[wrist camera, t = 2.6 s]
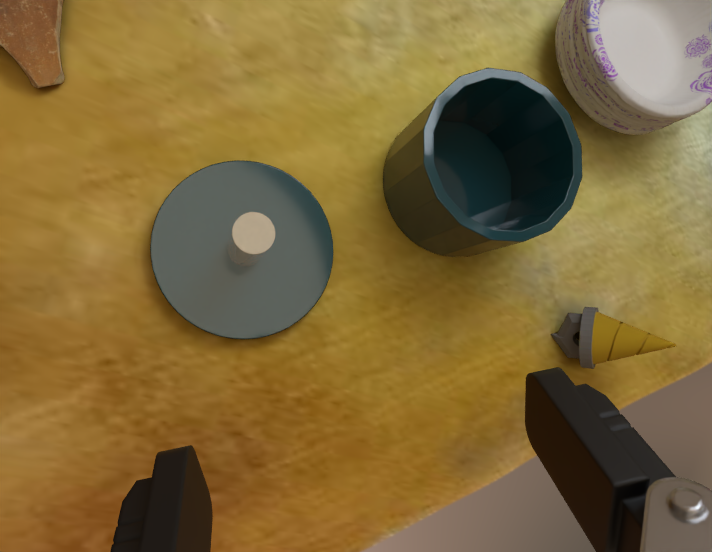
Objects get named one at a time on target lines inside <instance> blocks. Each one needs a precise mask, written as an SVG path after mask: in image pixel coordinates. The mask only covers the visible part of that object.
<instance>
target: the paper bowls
mask: <svg viewBox="0 0 712 552" xmlns="http://www.w3.org/2000/svg"><path fill="white" fill-rule="evenodd" d="M555 48H556V57H557V62H558V65H559V69H560V72H561V75H562V78H563V81H564V83H565V86H566V87H567V89H568V91H569V92H570V94H571V96H572V97H573V98H574V100H575V102H576V103H577V104H578V106H579V107H580V108H581V109H582V110H583V111H584V112H585V113H586V114H587V115H588V116H589V117H590V118H592V119H593V120H594V121H596V122H597V123H599V124H600V125H602V126H604V127H606V128H608V129H610V130H613V131H616V132H620V133H624V134H635V135H639V134H640V135H642V134H646V133H649V132H653V131H655V130H658V129H661V128H663V127H665V126H667V125H669V124H672V123H674V122H676V121H679V120H681V119H684V118H687V117H689V116H691V115H693V114H695V113H698V112H699V111H701V110H703V109H704V108H705V107H706V106H707V105H708V104H710V103H711V102H712V0H566V2H565V4H564V6H563V7H562V10H561V13H560V15H559V18H558V22H557V26H556V33H555Z"/></svg>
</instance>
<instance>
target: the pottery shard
mask: <svg viewBox="0 0 712 552" xmlns="http://www.w3.org/2000/svg"><path fill="white" fill-rule="evenodd" d="M63 1H64V0H0V45H1V46H2V47H3V48H4V49H5V50H6V51H7V52H8V53H9V54H10V55H11V56H12V57H13V58H14V59H15V60H16V62H17V63H18V64H19V65H20V67H21V68H22V69H23V70H24V72H25V73H26V75H27V76H28V78H29V79H30V82H31V84H32V85H33V86H34V87H36V88H40V87H45V86H50V85H55V84H62V83H63V81H64V74H63V71H62V66H61V58H60V29H61V15H62V5H63Z"/></svg>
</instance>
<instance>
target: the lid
mask: <svg viewBox="0 0 712 552" xmlns="http://www.w3.org/2000/svg"><path fill="white" fill-rule="evenodd" d="M150 251H151V262H152V268H153V271H154V275H155V278H156V281H157V283H158V285H159V287H160V289H161V291H162V293H163V295H164V296H165V298H166V299H167V301H168V302H169V303H170V304H171V306H172V307H173V308H174V309H175V310H176V311H177V312H178V313H179V314H180V315H181V316H182V317H183V318H185V319H186V320H187V321H189V322H190V323H192V324H193V325H195V326H196V327H198V328H200V329H202V330H204V331H206V332H209V333H212V334H214V335H217V336H221V337H226V338H232V339H255V338H260V337H266V336H269V335H272V334H275V333H278V332H280V331H282V330H284V329H287V328H289V327H290V326H292V325H293V324H295V323H296V322H298V321H299V320H300V319H301V318H303V317H304V316H305V315H306V314H307V313H308V312H309V311H310V310H311V309H312V308H313V307H314V305H315V304H316V303H317V301H318V300H319V298H320V297H321V295H322V293H323V291H324V289H325V287H326V285H327V282H328V279H329V277H330V273H331V268H332V263H333V240H332V235H331V230H330V227H329V223H328V220H327V218H326V216H325V214H324V211H323V209H322V208H321V206H320V204H319V203H318V201H317V200H316V198H315V197H314V196H313V195H312V193H311V192H310V191H309V190H308V189H307V188H306V187H305V186H304V185H303V184H302V183H301V182H299V181H298V180H297V179H295V178H294V177H292V176H291V175H289V174H287V173H286V172H284V171H282V170H280V169H278V168H275V167H273V166H270V165H266V164H263V163H259V162H252V161H228V162H222V163H218V164H214V165H211V166H208V167H205V168H203V169H201V170H199V171H197V172H195V173H193V174H191V175H190V176H189V177H187V178H186V179H184V180H183V181H182V182H181V183H180V184H179V185H177V186H176V187H175V188H174V189H173V190H172V192H171V193H170V194H169V195H168V197H167V198H166V199H165V201H164V203H163V204H162V206H161V208H160V209H159V212H158V214H157V217H156V219H155V222H154V226H153V229H152V234H151V243H150Z"/></svg>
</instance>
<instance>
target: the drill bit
mask: <svg viewBox="0 0 712 552" xmlns="http://www.w3.org/2000/svg"><path fill="white" fill-rule="evenodd" d="M579 331H580V341H579V340H577V339H576V337H575V335H574V334H575V333H576V332H579ZM551 335H552V337H553V338H554V339H555V341H556V342H557V343H558V345H559V346H560V347H561V349H562V350H563V352H564V353H565V354H566V356H567V357H570V358H579V359H580V365H581V367H583V368H592V369H594V367H595V364H598V363H602V362H606V361H612V360H616V359H621V358H625V357H630V356H634V355H635V354H636V355H639V354H643V353H648V352H652V351H657V350H662V349H665V348H671V347H675V346H676V344H674V343H672V342H669V341H667V340H665V339H662V338H660V337H657V336H655V335H651V334H650V333H647V332H645V331H643V330H640V329H638V328H635V327H633V326H630V325H628V324H626V323H623V322H621V321H618V320H616V319H613V318H611V317H608V316H606V315H604V314H601V313H599V312H598V308H595V307H585V308H584V310H583V314H576V313H568V314H567V316H566V318H565V320H564V322H563V324H562V326H561V328H560V330H559V332H558V333H554V334H551Z"/></svg>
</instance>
